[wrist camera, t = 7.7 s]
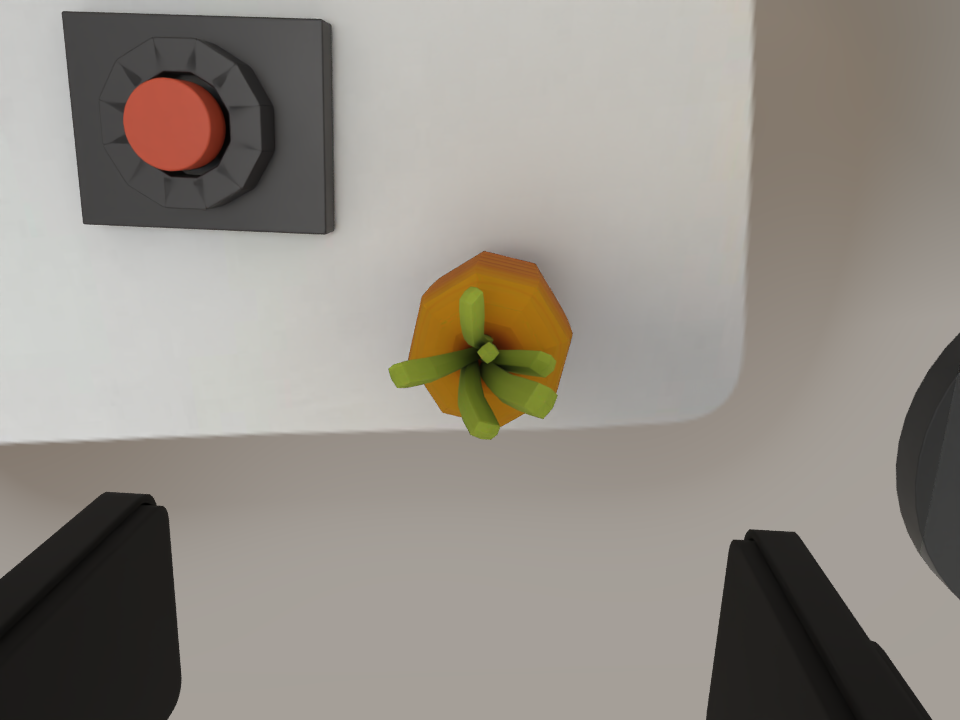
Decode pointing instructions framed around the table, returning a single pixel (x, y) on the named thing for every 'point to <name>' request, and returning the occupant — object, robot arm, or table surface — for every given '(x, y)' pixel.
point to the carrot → (488, 343)
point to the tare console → (245, 105)
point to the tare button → (174, 124)
